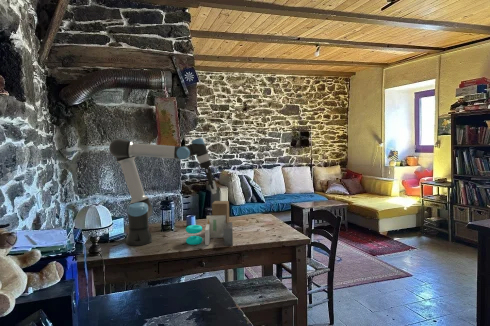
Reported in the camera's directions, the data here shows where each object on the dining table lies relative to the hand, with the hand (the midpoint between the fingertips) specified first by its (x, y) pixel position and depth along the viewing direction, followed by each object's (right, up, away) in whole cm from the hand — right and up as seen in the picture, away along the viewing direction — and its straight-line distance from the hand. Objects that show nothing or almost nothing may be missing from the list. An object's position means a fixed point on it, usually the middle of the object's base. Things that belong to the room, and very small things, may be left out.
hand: (215, 191), depth 227 cm
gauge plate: (-3, -28, -18) cm, 34 cm away
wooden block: (+4, -27, +5) cm, 28 cm away
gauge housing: (+4, -29, -17) cm, 34 cm away
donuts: (-11, -29, -19) cm, 37 cm away
